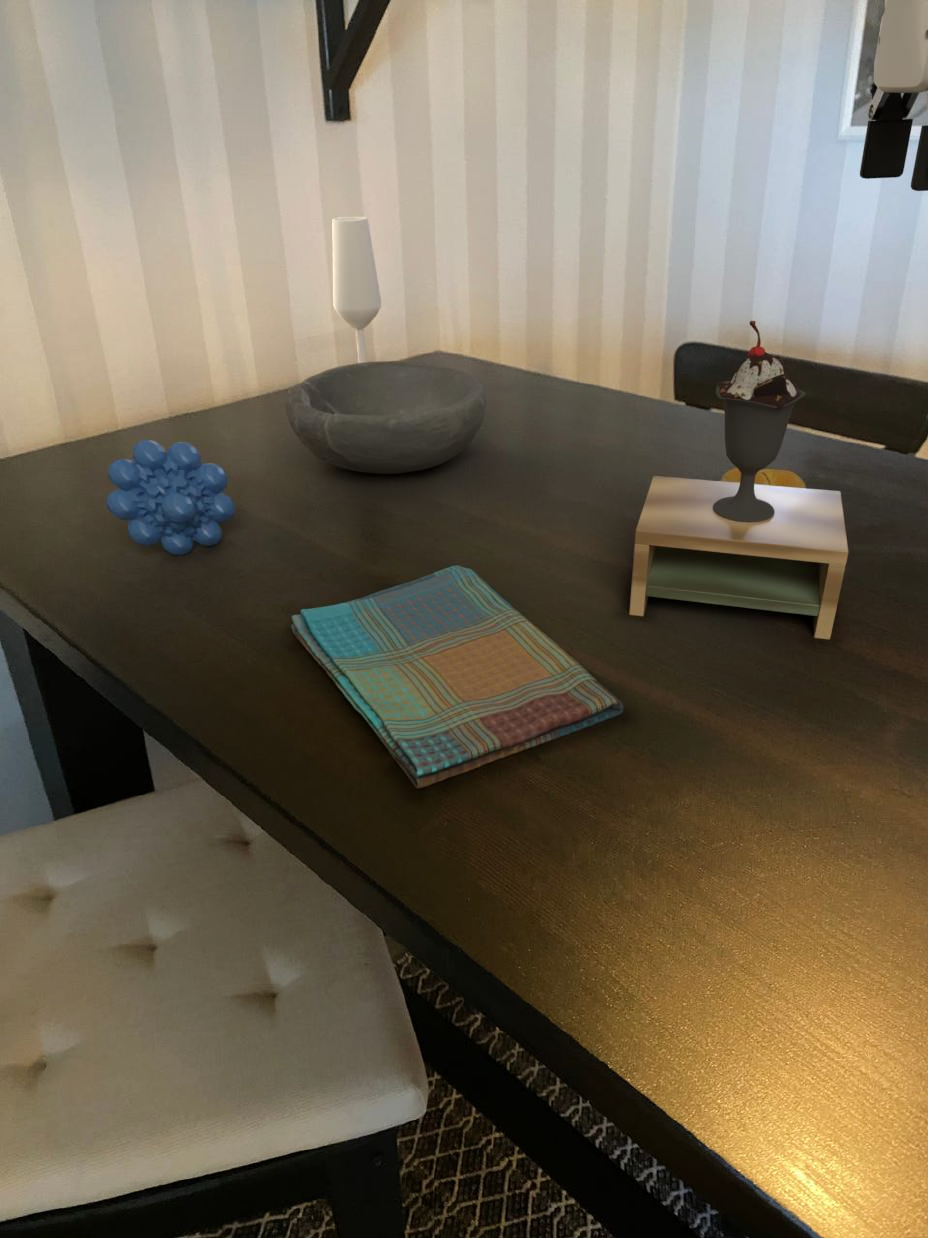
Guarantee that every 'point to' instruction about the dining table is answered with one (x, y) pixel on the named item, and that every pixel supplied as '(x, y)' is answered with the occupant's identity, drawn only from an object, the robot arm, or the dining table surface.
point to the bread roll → (768, 478)
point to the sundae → (754, 427)
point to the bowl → (386, 415)
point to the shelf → (741, 550)
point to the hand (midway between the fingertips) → (905, 183)
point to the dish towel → (451, 673)
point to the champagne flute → (354, 276)
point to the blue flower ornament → (170, 496)
